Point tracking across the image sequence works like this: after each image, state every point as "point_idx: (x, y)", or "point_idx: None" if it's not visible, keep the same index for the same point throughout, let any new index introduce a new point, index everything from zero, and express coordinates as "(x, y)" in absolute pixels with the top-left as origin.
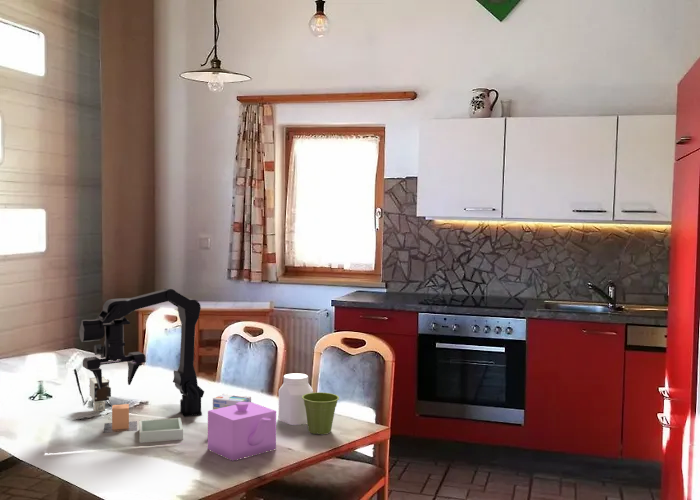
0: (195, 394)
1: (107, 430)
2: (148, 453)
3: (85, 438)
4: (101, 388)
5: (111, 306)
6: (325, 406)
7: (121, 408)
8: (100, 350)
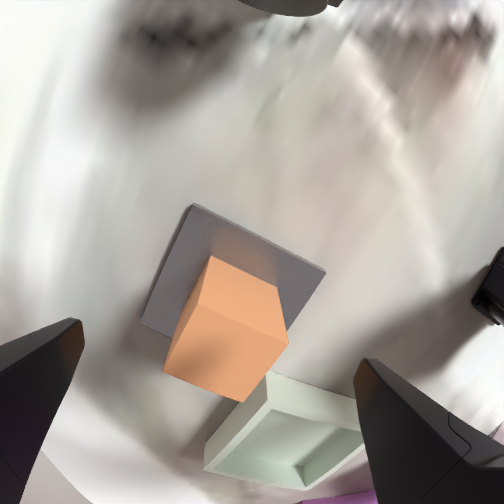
0: None
1: (161, 310)
2: (196, 478)
3: (79, 312)
4: (81, 350)
5: None
6: None
7: (209, 388)
8: None
